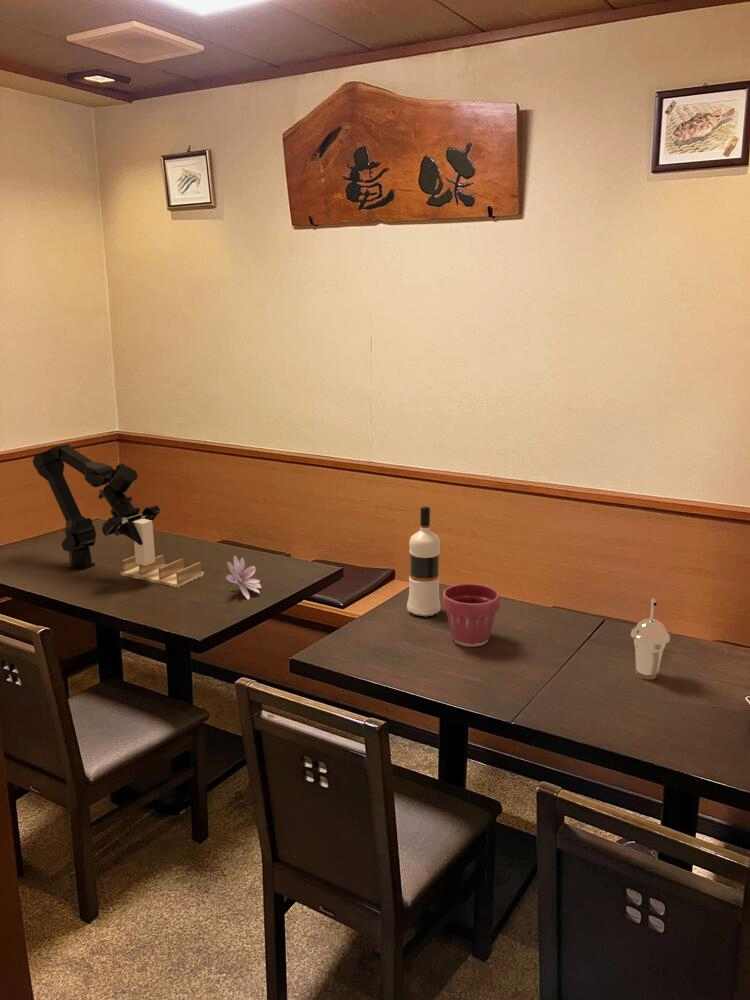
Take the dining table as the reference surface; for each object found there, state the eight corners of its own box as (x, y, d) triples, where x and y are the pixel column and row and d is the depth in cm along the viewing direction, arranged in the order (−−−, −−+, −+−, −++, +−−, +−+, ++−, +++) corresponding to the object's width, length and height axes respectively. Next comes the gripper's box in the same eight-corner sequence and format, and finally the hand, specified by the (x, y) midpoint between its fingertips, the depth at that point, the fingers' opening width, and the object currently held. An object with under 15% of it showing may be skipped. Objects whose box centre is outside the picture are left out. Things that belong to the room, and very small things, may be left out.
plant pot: (432, 633, 208) (433, 586, 204) (481, 625, 212) (482, 579, 209) (457, 656, 195) (458, 607, 191) (508, 647, 199) (510, 599, 196)
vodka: (412, 620, 216) (413, 512, 208) (402, 607, 224) (403, 503, 217) (445, 616, 218) (447, 510, 210) (434, 604, 227) (436, 501, 219)
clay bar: (135, 563, 240) (132, 521, 236) (146, 559, 243) (142, 518, 240) (145, 565, 238) (141, 523, 234) (155, 562, 241) (152, 520, 238)
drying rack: (120, 575, 250) (119, 561, 249) (148, 563, 260) (147, 550, 259) (177, 587, 239) (176, 573, 238) (203, 575, 249) (203, 561, 248)
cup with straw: (672, 674, 185) (680, 593, 180) (655, 689, 179) (663, 605, 173) (636, 663, 191) (643, 584, 185) (619, 677, 184) (626, 595, 179)
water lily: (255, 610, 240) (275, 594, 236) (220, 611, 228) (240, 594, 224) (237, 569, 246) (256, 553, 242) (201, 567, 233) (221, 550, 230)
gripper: (131, 509, 253) (158, 548, 250) (82, 524, 237) (110, 566, 235) (147, 488, 247) (175, 528, 244) (97, 502, 231) (127, 545, 229)
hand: (147, 542), depth 238 cm, fingers closed on clay bar, 4 cm apart
